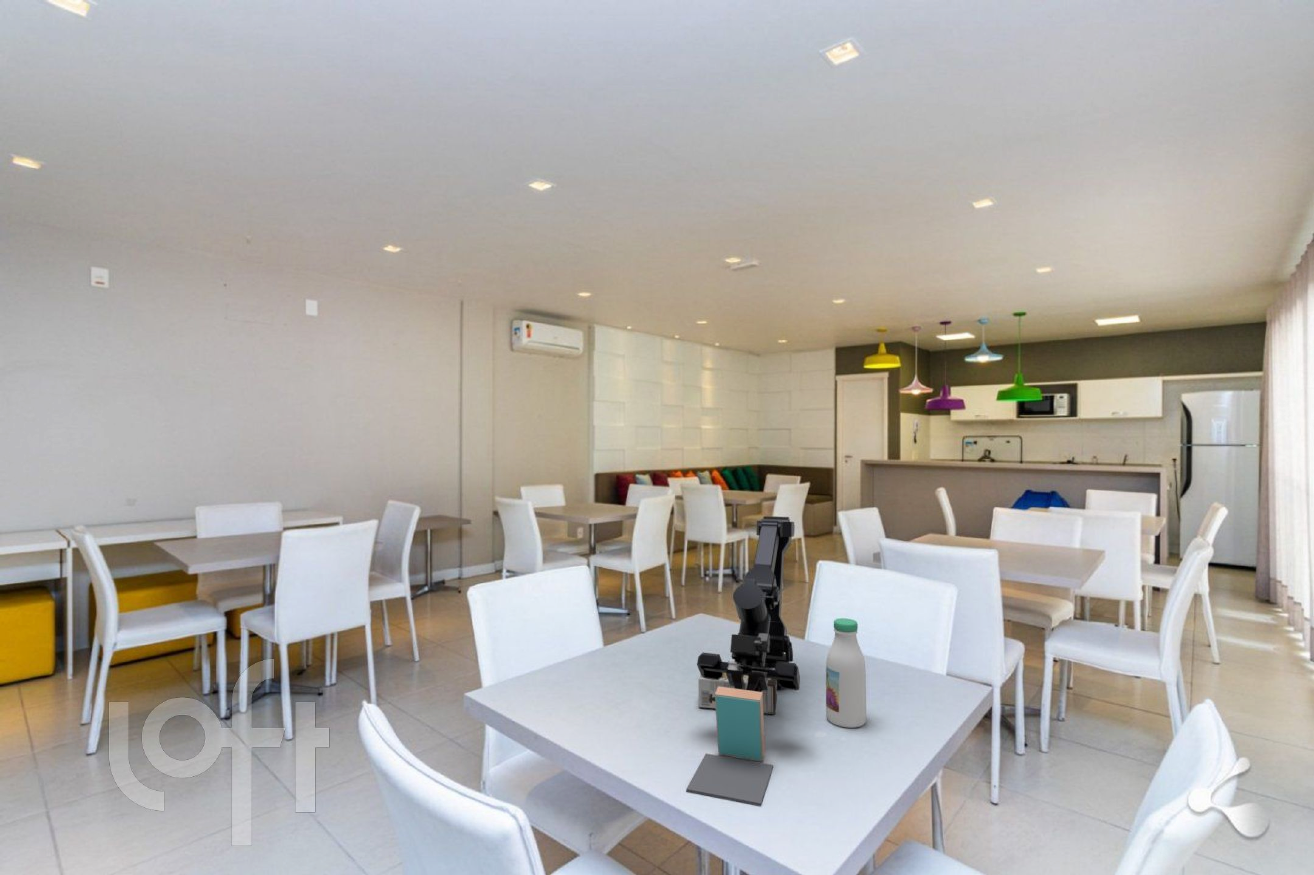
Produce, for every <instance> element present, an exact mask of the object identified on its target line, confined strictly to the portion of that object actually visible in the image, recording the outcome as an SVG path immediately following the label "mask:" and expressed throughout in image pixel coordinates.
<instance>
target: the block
mask: <svg viewBox="0 0 1314 875" xmlns="http://www.w3.org/2000/svg"><path fill="white" fill-rule="evenodd" d="M715 704H716V709H715V718H716V719H715V720H716V735H717V736H716V737H717V751H718V754H717V755H719V756H725V757H730V758H736V759H742V760H748V761H754V762H760V763H763V762H764V760H765V759H764V758H765V756H766V745H765V742H766V741H765V721H764V719H765V718H764V714H765V713H763V692H757V691H749V690H742V689H734V688H727V687H719V686H718V688H717V690H716V693H715Z"/></svg>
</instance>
